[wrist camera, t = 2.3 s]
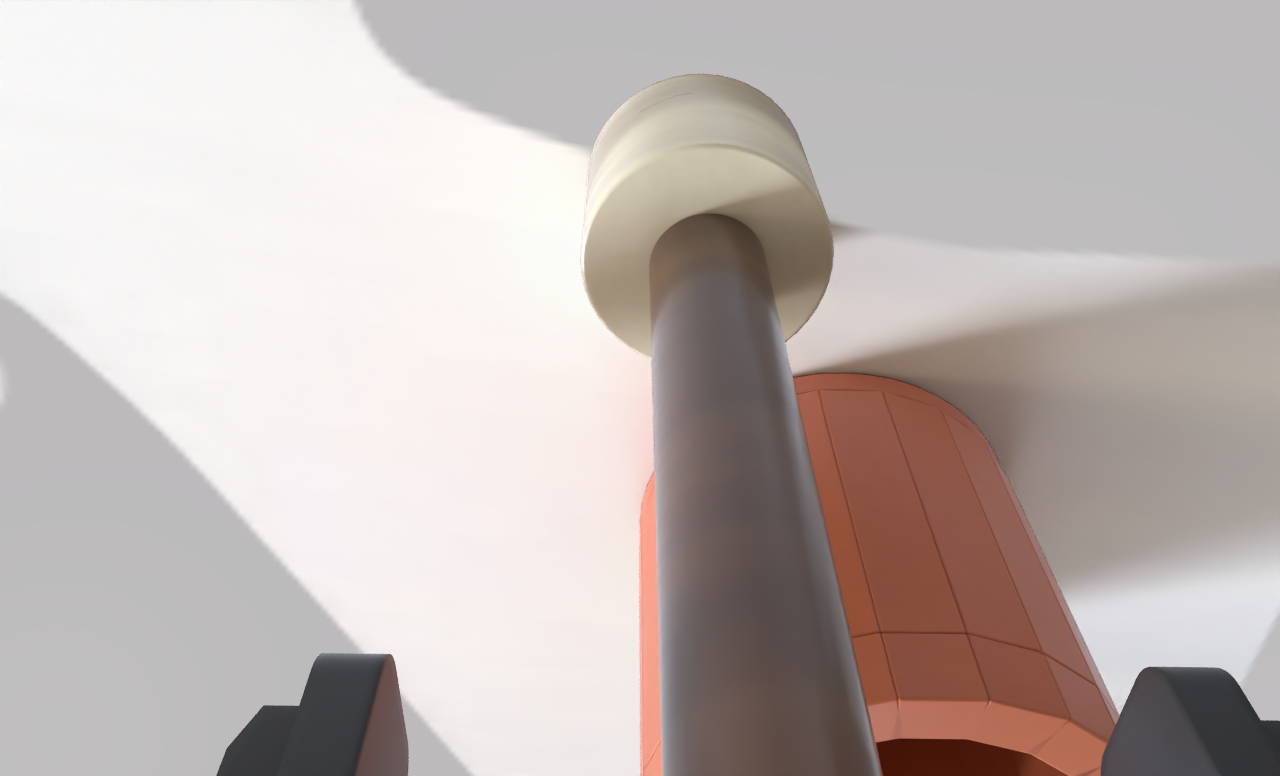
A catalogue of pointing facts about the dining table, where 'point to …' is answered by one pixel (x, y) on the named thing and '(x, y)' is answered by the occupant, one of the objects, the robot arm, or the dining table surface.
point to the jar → (929, 594)
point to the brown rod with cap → (728, 425)
